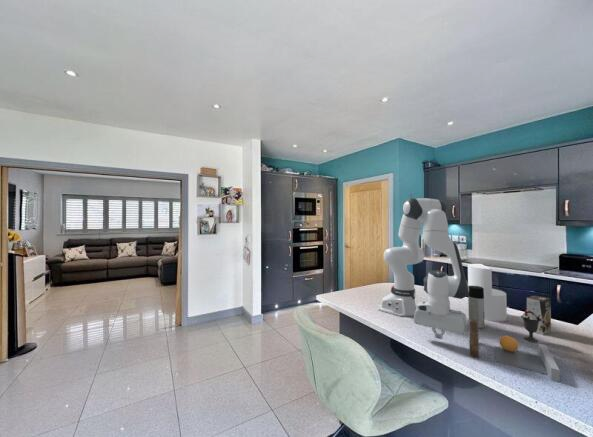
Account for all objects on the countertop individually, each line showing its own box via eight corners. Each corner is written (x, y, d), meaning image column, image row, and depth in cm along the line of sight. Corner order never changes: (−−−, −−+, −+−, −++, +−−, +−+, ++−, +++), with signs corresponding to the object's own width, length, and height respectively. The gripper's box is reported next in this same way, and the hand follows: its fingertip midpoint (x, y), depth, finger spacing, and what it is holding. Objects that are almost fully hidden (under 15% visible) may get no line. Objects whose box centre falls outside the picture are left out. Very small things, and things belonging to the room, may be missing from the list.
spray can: (487, 328, 124) (486, 289, 124) (472, 327, 125) (471, 288, 125) (480, 323, 130) (479, 285, 131) (466, 322, 132) (465, 285, 132)
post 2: (469, 356, 99) (469, 334, 99) (469, 353, 102) (469, 331, 102) (478, 358, 98) (478, 336, 98) (478, 355, 100) (478, 333, 100)
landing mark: (496, 361, 96) (496, 361, 96) (494, 346, 107) (494, 346, 107) (547, 374, 87) (547, 374, 87) (538, 356, 99) (538, 356, 99)
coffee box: (544, 335, 116) (543, 301, 116) (526, 330, 122) (525, 297, 122) (551, 331, 121) (551, 298, 121) (534, 326, 126) (534, 294, 126)
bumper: (551, 379, 85) (551, 368, 85) (538, 353, 101) (538, 343, 101) (559, 381, 83) (559, 370, 83) (545, 355, 100) (545, 345, 100)
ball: (498, 332, 105) (514, 339, 100) (507, 333, 107) (523, 341, 101) (494, 345, 105) (509, 354, 100) (503, 347, 107) (519, 355, 101)
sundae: (517, 337, 115) (516, 304, 115) (530, 336, 116) (529, 304, 116) (531, 344, 109) (531, 310, 109) (545, 343, 109) (545, 309, 109)
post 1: (470, 342, 110) (469, 322, 110) (470, 339, 113) (469, 320, 113) (478, 344, 109) (478, 324, 109) (478, 341, 111) (477, 321, 111)
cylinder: (473, 318, 136) (472, 268, 137) (465, 308, 152) (464, 263, 153) (512, 323, 130) (511, 270, 130) (499, 311, 146) (498, 264, 146)
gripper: (466, 310, 108) (466, 341, 108) (415, 301, 120) (415, 329, 120) (466, 314, 103) (466, 347, 103) (412, 305, 115) (413, 334, 115)
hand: (438, 338), depth 112 cm, fingers closed
